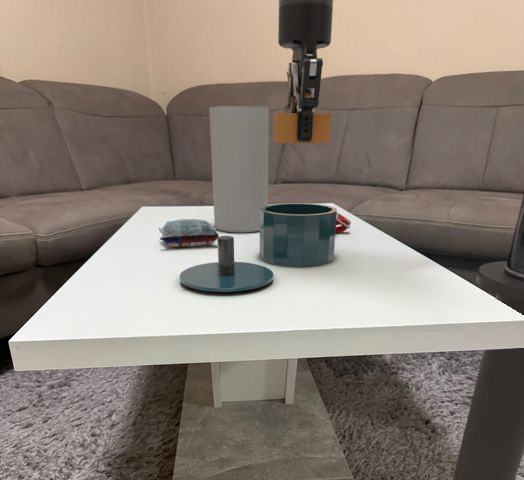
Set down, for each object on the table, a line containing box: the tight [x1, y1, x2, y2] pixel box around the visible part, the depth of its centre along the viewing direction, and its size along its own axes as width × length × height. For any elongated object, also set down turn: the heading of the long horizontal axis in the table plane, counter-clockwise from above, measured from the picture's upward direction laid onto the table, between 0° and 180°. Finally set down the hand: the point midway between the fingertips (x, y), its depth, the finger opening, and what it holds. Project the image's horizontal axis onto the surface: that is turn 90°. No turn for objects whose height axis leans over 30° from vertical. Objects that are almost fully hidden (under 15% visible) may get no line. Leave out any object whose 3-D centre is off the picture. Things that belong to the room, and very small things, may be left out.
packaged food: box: [157, 218, 220, 248], centre depth 91 cm, size 9×12×5 cm
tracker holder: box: [335, 212, 352, 234], centre depth 101 cm, size 12×4×10 cm
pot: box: [259, 202, 338, 268], centre depth 81 cm, size 13×13×8 cm
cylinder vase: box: [208, 105, 270, 234], centre depth 101 cm, size 12×12×25 cm
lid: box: [179, 235, 274, 293], centre depth 68 cm, size 14×14×7 cm
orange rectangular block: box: [272, 112, 332, 144], centre depth 70 cm, size 8×4×4 cm, turn 97°
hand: (300, 140), depth 71 cm, fingers closed on orange rectangular block, 4 cm apart
